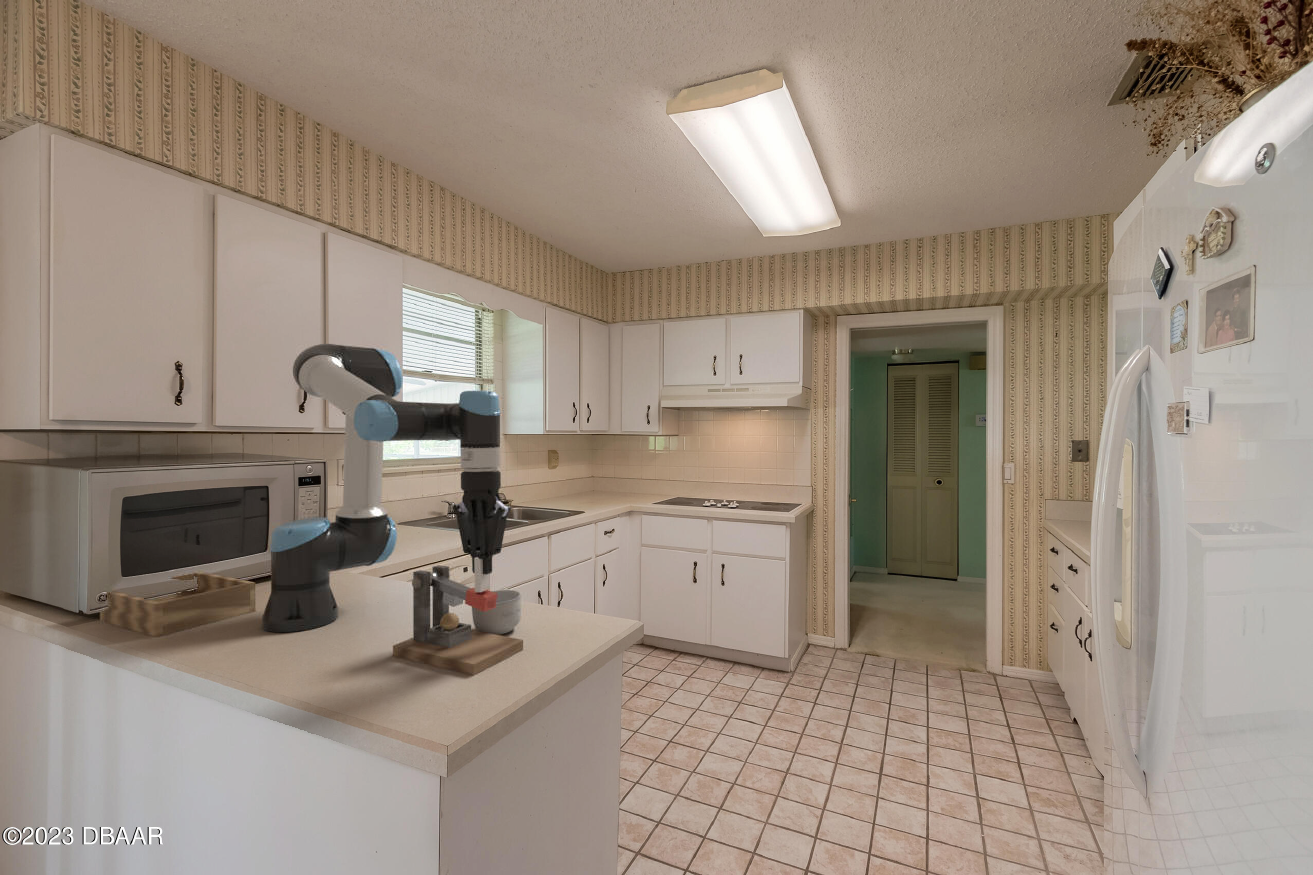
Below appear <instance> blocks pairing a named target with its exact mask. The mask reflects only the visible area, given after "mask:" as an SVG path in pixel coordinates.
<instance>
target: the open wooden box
mask: <svg viewBox="0 0 1313 875" xmlns="http://www.w3.org/2000/svg"><path fill="white" fill-rule="evenodd" d="M197 572H198V573H195V572H192V573H193V574H190V573H187V574H188V575H184V574H181V575H182V576H179V575H176V576H177V577H174V576H172V577H173V578H171V579H179V580H182V581H183V580H191V579H194V578H193V577H194V576H195V577H197V584H198V588H197V589H194V590H191V591H182V592H181V593H176V594H174V595H171V596H167V597H162V598H158V599H155V600H148V599H144V598H140V597H136V596H132V595H128V594H124V593H120V592H116V591H110V592H107V600H108V609H106V610H104V611H101V612H100V611H99V621H100V622H104V623H107V624H110V625H114V626H117V627H121V628H125V629H126V630H131V631H134V632H138V633H141V634H145V635H148V636H152V637H154V636H155V638H158V637H162V636H165V635H168V634H174V633H176V632H180V631H185V630H188V629H191V628H196V627H199V626H203V625H207V624H211V623H214V622H215V623H216V622H219V621H222V620H226V619H231V618H234V617H239V616H242V615H245V614H249V613H253V612H256V582H254V581H249V580H244V579H239V578H233V577H229V576H223V575H218V574H213V573H208V572H207V573H206V572H202V571H197ZM185 582H186V581H185Z"/></svg>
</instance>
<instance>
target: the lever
mask: <svg viewBox="0 0 1313 875" xmlns="http://www.w3.org/2000/svg"><path fill="white" fill-rule="evenodd" d="M430 587H432V588H433V587H435V588H437V589H439V590H442V591H444V594H443V601H442V602H443V603H445V604H448V605H449V607H453V608H455V607H457V606H460V605H463V604H465V605H467V606H470V607H471V608H472V607H474V608H476V609H479V610H481V611H483V612H485V611H488V610H490V609H493V608H495V607H496V601H497V595H498V594H497V593H494V592H492V591H493V590H490V589H489V590H486V591H483V592H475V586H474V587H469V586H467V585H464V584H462V583H459V582H457V581H455V580H453V579H450V578H449V579H448V578H445V577H443V576H441V574H440V573H439V572H438V571H435V572H433V571H432V572H431V571H430Z"/></svg>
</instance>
